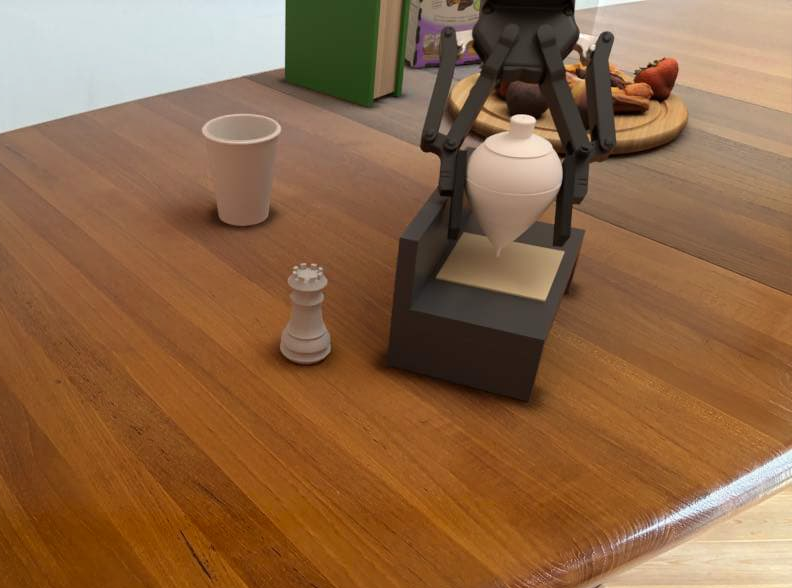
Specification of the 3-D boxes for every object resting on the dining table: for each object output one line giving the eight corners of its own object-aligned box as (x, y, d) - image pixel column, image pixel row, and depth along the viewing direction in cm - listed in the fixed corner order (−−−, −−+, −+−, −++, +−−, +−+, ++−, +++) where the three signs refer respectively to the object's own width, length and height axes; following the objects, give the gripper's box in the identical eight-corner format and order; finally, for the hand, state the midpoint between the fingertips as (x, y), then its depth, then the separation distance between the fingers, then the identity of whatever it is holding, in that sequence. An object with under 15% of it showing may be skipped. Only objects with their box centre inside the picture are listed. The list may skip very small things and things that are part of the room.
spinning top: (487, 287, 67) (514, 142, 59) (433, 247, 72) (452, 109, 64) (562, 267, 69) (598, 125, 61) (505, 229, 74) (531, 95, 67)
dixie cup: (197, 205, 95) (192, 119, 89) (265, 194, 97) (264, 109, 91) (220, 236, 89) (216, 146, 82) (291, 223, 91) (293, 134, 85)
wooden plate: (658, 84, 126) (674, 27, 121) (711, 165, 102) (734, 98, 96) (446, 76, 131) (453, 20, 125) (448, 152, 106) (457, 86, 101)
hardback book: (401, 95, 124) (418, -89, 109) (368, 107, 120) (382, -82, 105) (317, 70, 134) (322, -101, 119) (284, 80, 130) (286, -95, 115)
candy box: (478, 53, 140) (495, -56, 130) (492, 63, 136) (510, -49, 125) (401, 58, 139) (411, -52, 128) (412, 68, 134) (424, -45, 124)
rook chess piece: (334, 365, 70) (339, 283, 65) (282, 368, 70) (283, 285, 65) (326, 335, 73) (330, 256, 68) (277, 338, 73) (277, 258, 68)
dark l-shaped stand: (571, 286, 79) (602, 167, 72) (529, 402, 65) (562, 269, 58) (449, 261, 84) (466, 146, 76) (385, 365, 70) (399, 237, 62)
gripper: (644, 1, 70) (626, 260, 68) (402, -5, 73) (377, 243, 71) (678, -58, 63) (659, 231, 60) (406, -62, 66) (378, 213, 63)
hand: (507, 237), depth 66 cm, fingers closed on spinning top, 8 cm apart
